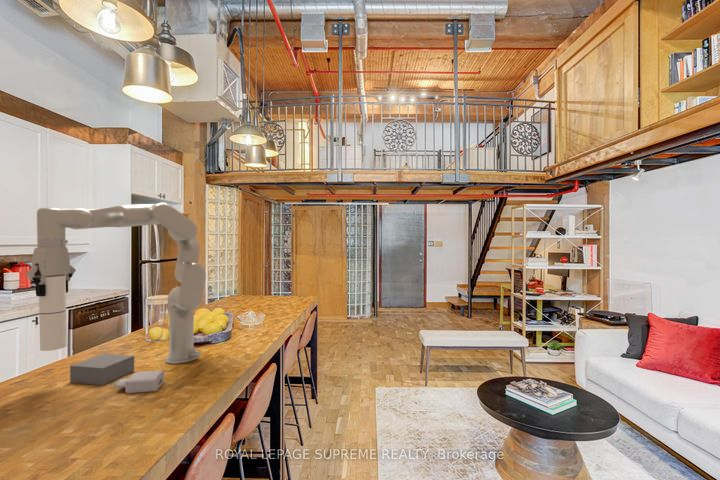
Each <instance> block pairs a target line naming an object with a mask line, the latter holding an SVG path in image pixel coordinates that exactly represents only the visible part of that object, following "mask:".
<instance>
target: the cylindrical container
mask: <svg viewBox="0 0 720 480" xmlns="http://www.w3.org/2000/svg"><path fill="white" fill-rule="evenodd" d="M40 279H41V277H40ZM43 284H45V285H46V295H45V296H38V307H39V309H38V313H39V314H38V315H39V350H40V351H42V352H49V351H55V350H61V349H64V348H66V347H67V346H68V344H67V343H68V342H67V341H68V340H67V339H68V337H67V335H68V334H67V331H68V330H67V293H66V276H65V275H57V276H48V277H46V279H45V281H44V283H43Z"/></svg>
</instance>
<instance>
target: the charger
mask: <svg viewBox="0 0 720 480" xmlns="http://www.w3.org/2000/svg"><path fill="white" fill-rule="evenodd" d="M164 382H165V370H150V371H149V370H148V371H147V370H146V371H137V372H134V373H132V374H131V376H129V377H128V378H120V379H119V380H118V381H114V382H113V383H111V386H115V388H116V389H123V388H125V389H124V390H125V391H124V392H125V393H126V394H137V393H151V392H157V391H158V390H159V388H160V387H161V386H162V385H163V384H164Z"/></svg>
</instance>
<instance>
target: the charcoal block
mask: <svg viewBox="0 0 720 480" xmlns="http://www.w3.org/2000/svg"><path fill="white" fill-rule="evenodd" d="M69 370H70V371H69V382H70V383H76V384H85V385H86V384H88V385H99V386H104V385H106V384H108V383H111V382H113V381H115V380H117V379H119V378H120V379H121V378H122V377H124V376H126V375H129V374H131V373H133V372H135V355H125V354H112V353H103V354H99V355H96V356H93V357H91V358H88V359H85V360H82V361H80V362H77V363H74V364H72V365H69Z"/></svg>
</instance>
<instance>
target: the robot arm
mask: <svg viewBox="0 0 720 480" xmlns="http://www.w3.org/2000/svg"><path fill="white" fill-rule="evenodd" d="M154 225H162V226H163V227H164V228H165V229H167V232H168V235H169V237H170V238H171V239H173V240H174V241H175V243H176V245H177V258H176V264H175V269H174V278H175V279H176V281H178V283H180V285H179V286H176V287H174V288H172V289H171V290H170V291H169V293H168V296H167V307H168V316H169V317H168V318H169V320H168V322H169V324H168V325H169V327H168V332H169V333H168V341H169V343H168V356H166V357H164V362H165V363H167V364H170V365H172V364H173V365H176V364H185V363H189V362H192V361H194V360H197V359H198V358H200V357H201V353H202V351H201V350H197V348H196V347H194V344H195V341H194V339H195V337H194V335H195V333H194V331H195V330H194V326H195V322H194V321H195V320H194V319H195V316H194V311H195V310H197V308H199V307H200V305H201V304H202V301H203V297H204V292H205V285H206V276H207V275H206V269H205V268H204V266H203V265H201V264H200V263H199V259H200V242H199V240H198V238H197V235H198V226H197V225H196V224H195V222H193V220H191V219H190V218H189V217H187V216H186V215H184V214H183V213H181V212H180V211H179V210H177V209H176V207H175V208H174V207H173V206H172V205H170V204H169V203H167V202H159V203H148V204H144V203H143V204H122V205H120V204H119V205H115V206H110V207H102V208H101V207H100V208H84V207H83V208H81V207H76V208H75V207H74V208H57V207H40V208H38V209H37V211H36V240H37V242H36V243H37V247H34V249H33V252H32V253H33V254H32V257H31V259H32V260H31V269H30V270H28V271H27V272H26V273H25V276H26V277H27V278H28V279H29V281H30V282H32V283H33V285H35V296H36V297H39V296H45V295H46V285H45V284H43V283H44V281H45V279H46V277H48V276H57V275H65V276H66V294H67V293H69V282H70V281H71V278H72V277H73V276H74V274H75V272H76V268H74V266H72V265H71V263H70V262H71V260H70V254H69V249H68V247H67V244H68V242H69V241H68V240H67V239H66V237H67V235H66V229H67V228H69V229H72V230H86V229H99V228H100V229H101V228H126V227H127V228H128V227H129V228H130V227H140V226H142V227H143V226H154ZM40 277H41V279H40Z"/></svg>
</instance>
